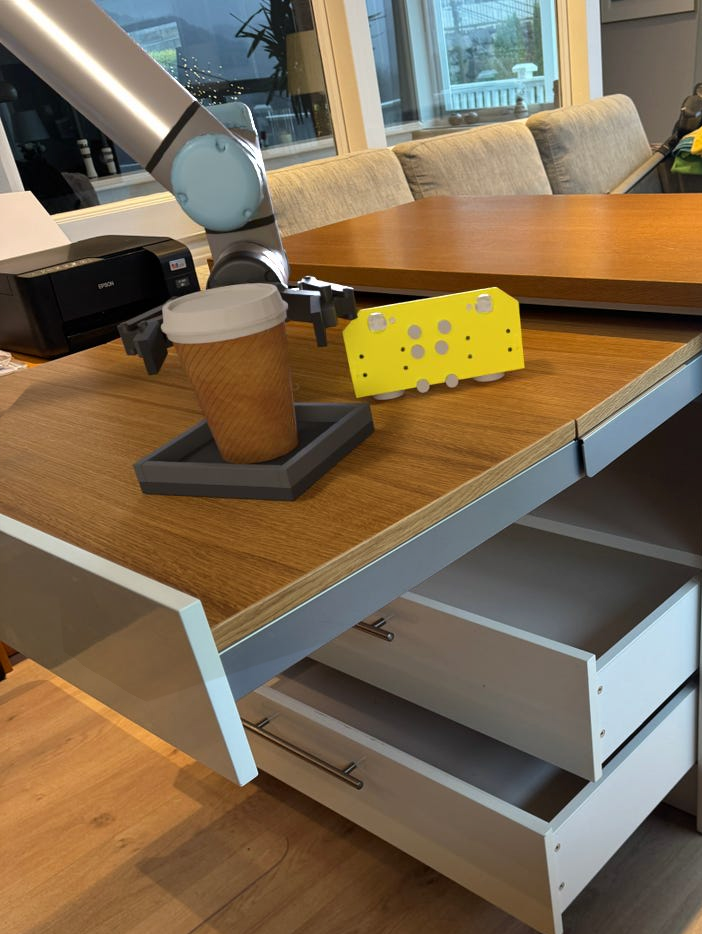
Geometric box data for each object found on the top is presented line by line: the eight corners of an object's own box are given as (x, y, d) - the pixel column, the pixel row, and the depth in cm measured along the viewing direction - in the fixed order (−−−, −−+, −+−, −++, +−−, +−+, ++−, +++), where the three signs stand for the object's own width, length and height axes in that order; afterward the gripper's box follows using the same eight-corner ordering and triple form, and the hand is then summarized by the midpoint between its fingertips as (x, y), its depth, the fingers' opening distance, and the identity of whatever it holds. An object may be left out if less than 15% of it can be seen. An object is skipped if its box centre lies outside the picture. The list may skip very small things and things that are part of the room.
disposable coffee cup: (317, 420, 78) (284, 275, 71) (319, 460, 70) (282, 300, 63) (207, 439, 77) (163, 294, 70) (196, 481, 69) (146, 322, 63)
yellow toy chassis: (358, 408, 83) (339, 315, 78) (353, 390, 87) (336, 301, 83) (526, 377, 84) (517, 284, 79) (513, 362, 89) (504, 273, 84)
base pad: (142, 493, 71) (131, 464, 70) (238, 428, 82) (231, 402, 80) (293, 501, 66) (285, 469, 65) (375, 430, 77) (369, 402, 76)
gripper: (379, 309, 92) (396, 364, 74) (133, 349, 90) (91, 416, 72) (365, 230, 88) (380, 269, 70) (108, 270, 86) (56, 320, 68)
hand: (233, 343), depth 71 cm, fingers open, 13 cm apart
